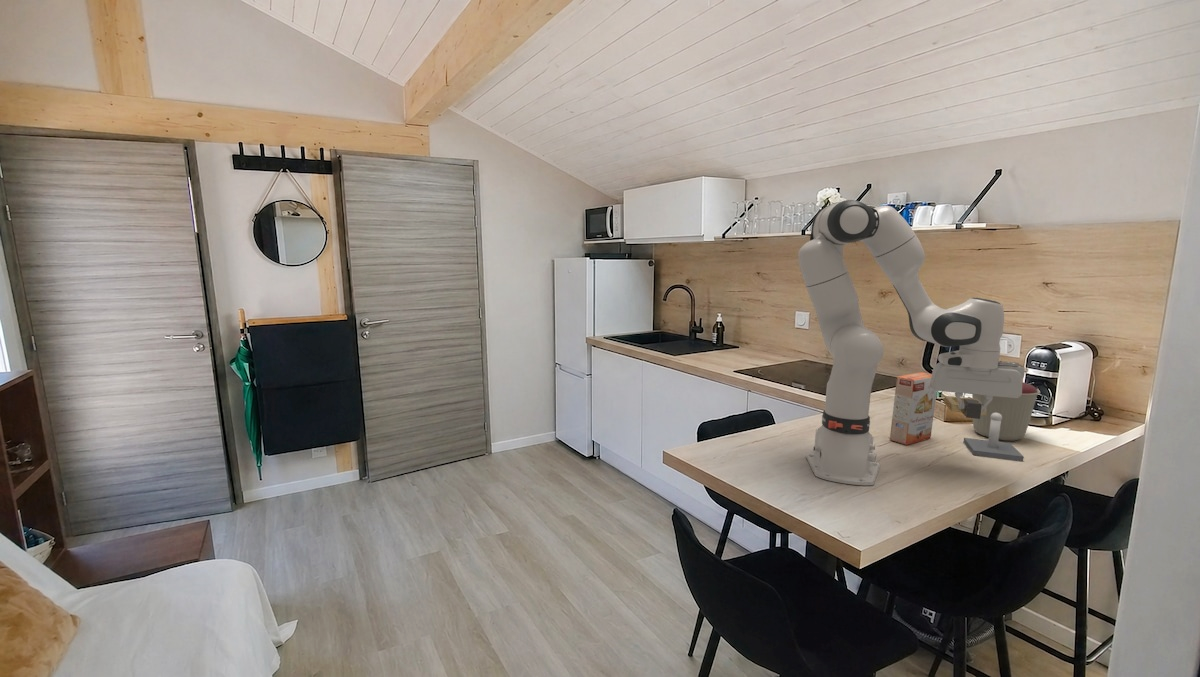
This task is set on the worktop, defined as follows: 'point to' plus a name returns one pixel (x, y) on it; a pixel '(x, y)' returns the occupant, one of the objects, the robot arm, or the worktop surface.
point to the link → (971, 408)
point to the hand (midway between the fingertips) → (971, 409)
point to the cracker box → (913, 409)
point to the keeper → (993, 444)
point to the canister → (1008, 414)
